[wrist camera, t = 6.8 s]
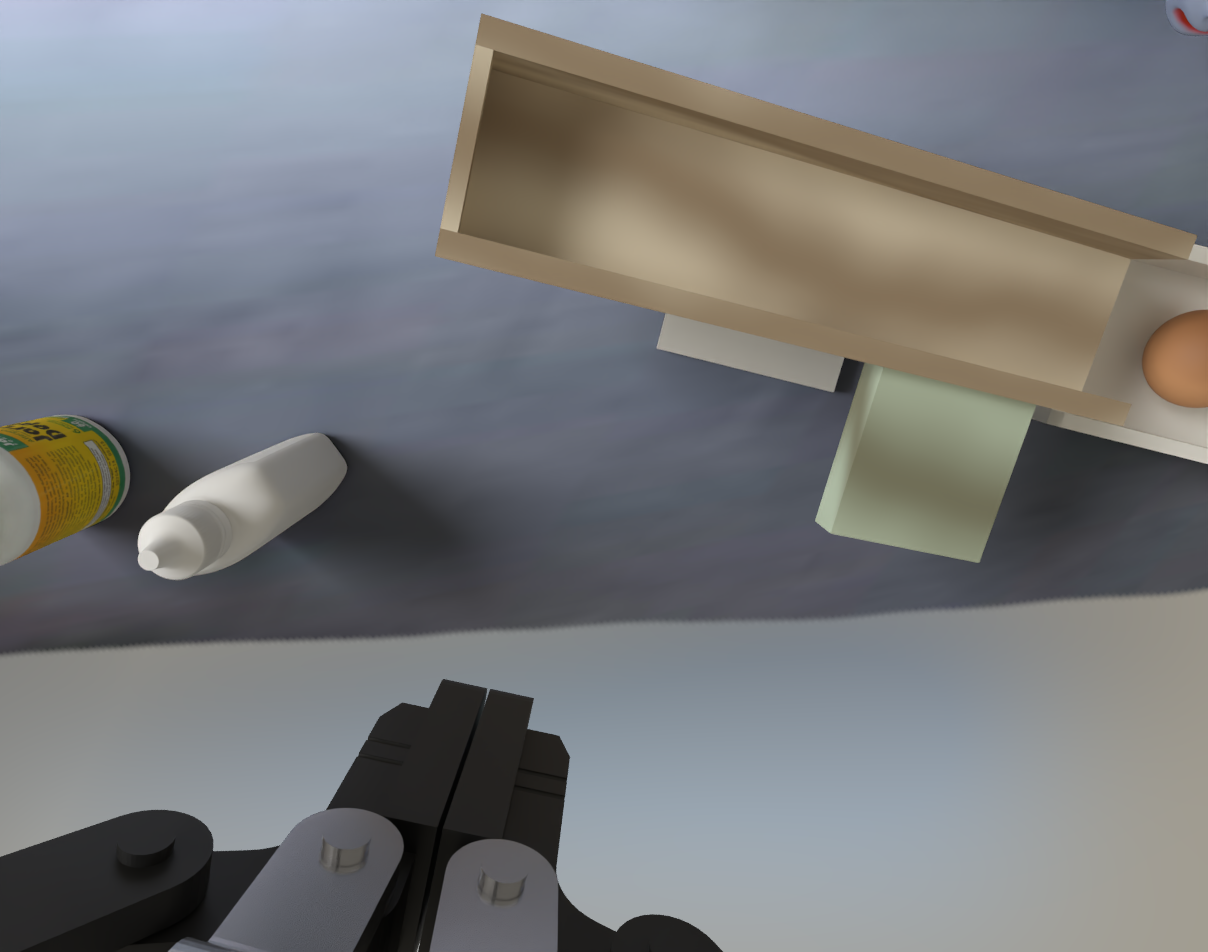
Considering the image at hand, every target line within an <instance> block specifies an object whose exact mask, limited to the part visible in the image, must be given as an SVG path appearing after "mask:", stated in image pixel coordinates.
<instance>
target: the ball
mask: <svg viewBox="0 0 1208 952" xmlns="http://www.w3.org/2000/svg"><path fill="white" fill-rule="evenodd" d="M1142 369H1143V373H1144V376H1145V379H1146V381H1147V383H1148V385H1149V386H1150V387H1151V389H1152V390H1153V391H1154V392H1155V393H1156V394H1157V395H1159V396H1160V397H1161V398H1163V399H1164V400H1166V401H1168V402H1170V403H1173V404H1175V405H1179V406H1183V407H1189V408H1205V407H1208V310H1195V311H1190V312H1186V313H1183V314H1180V315H1178V316H1176V317H1173V318H1172V319H1170V320H1168V321H1167V322H1165V323H1164V324H1162V325H1161V326H1160V327H1159V328H1158V329H1157V330H1156V331H1155V332H1154V333H1153V334H1152V335H1151V337H1150V339H1149V340H1148V342H1147V344H1146V346H1145V348H1144V352H1143V356H1142Z"/></svg>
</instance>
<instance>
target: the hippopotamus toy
mask: <svg viewBox="0 0 1208 952" xmlns="http://www.w3.org/2000/svg"><path fill="white" fill-rule="evenodd" d="M1165 8H1166V14H1167V17H1168V20H1169V22H1170V24H1171V25H1172V27H1173V28H1174V29H1175V30H1176V31H1177V32H1179V33H1181V34H1185V35H1189V36H1208V0H1166V2H1165Z"/></svg>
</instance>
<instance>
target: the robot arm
mask: <svg viewBox="0 0 1208 952" xmlns="http://www.w3.org/2000/svg"><path fill="white" fill-rule="evenodd" d="M486 693H487V688H482V687H478V686H473V685H469V684H464V683H459V682H454V681H450V680H445V679H443V680H442V682H441V684H440V686H439V688H438V690H437V692H436V694H435V696H434V698H433V701H432V703H431V705H430V707H429V708H425V707H421V706H416V705H411V704H407V703H401V704H399V705H398V706H396V707H395V708H393V709H391V710H390V711H388V712H387V713H385V714H383V715H382V716H380V717H379V719H378V721H377V722H376V724H375V726H374V728H373V730H372V731H371V733H370V735H369V737H368V740H366V742H365V743H364V745H363V747H362V749H361V750H360V752H359V756H358V757H356V759H355V761H354V763H353V764H352V766H351V768H350V770H349V771H348V773H347V775H346V776H345V778H344V780H343V782H342V783H341V785H340V787H339V789H338V790H337V792H336V794H335V796H334V797H333V799H332V801H331V802H330V804H329V806H328V808H327V809H326V810H325V811H322V812H318V813H316V814H313V815H311V816H309V817H307V818H305V819H304V820H302V821H301V822H300V823H298V824H297V825H296V826H295V827H294V828H293V829H292V831H291V832H290V833H289V834H288V836H287V837H286V838H285V840H284V841H283V842H282V844H281V845H279V846H276V847H272V848H267V849H260V850H247V851H246V850H244V851H213V838H212V834H211V832H210V831H209V829H208V828H207V826H206V825H205V824H204V823H202V822H201V821H200V820H198V819H196V818H195V817H193V816H190V815H188V814H185V813H181V812H176V811H168V810H148V811H140V812H134V813H130V814H127V815H123V816H120V817H117V818H114V819H111V820H108V821H105V822H102V823H99V824H96V825H93V826H90V827H87V828H84V829H81V830H79V831H75V832H72V833H69V834H66V835H64V836H61V837H58V838H55V839H52V840H49V841H46V842H43V843H40V844H37V845H34V846H31V847H28V848H26V849H22V850H19V851H16V852H14V853H11V854H8V855H4V856H2V857H0V952H417V949H418V945H419V943H420V946H419V951H418V952H723V951H722V950H721V949H720V948H719V947H718V946H717V945H716V944H715V943H714V942H713V941H712V940H711V939H710V938H709V937H708V936H707V935H706V934H704V933H703V932H702V931H700V930H699V929H697V928H696V927H694V926H693V925H691V924H689V923H687V922H685V921H682V920H680V919H677V918H673V917H670V916H664V915H643V916H639V917H635V918H633V919H631V920H629V921H627V922H626V923H624V924H623V925H622V926H621V927H620V928H619V929H618V931H617V932H616V931H613V930H611V929H610V928H607V927H605V926H603V925H601V924H599V923H597V922H596V921H594V920H592V919H590V918H589V917H587V916H586V915H584V914H583V913H582V912H580V911H579V910H578V909H577V908H575V906H574V905H572V904H571V902H570V901H569V900H568V899H567V898H566V896H565V895H564V893H563V891H562V890H561V888H560V885H559V883H558V880H557V875H556V864H557V855H558V848H559V839H560V832H561V824H562V816H563V808H564V798H565V792H566V784H567V782H566V781H567V775H568V767H569V759H570V756H569V754H568V753H567V751H566V748H565V746H564V745H563V743H562V740H561V739H560V737H559V736H557V735H553V734H548V733H543V732H539V731H533V730H529V729H527V727H528V723H529V718H530V714H531V709H532V704H533V700H534V698H530V697H526V696H520V695H516V694H512V693H507V692H502V691H498V690H493V689H490V692H489V695H488V698H487V700H486ZM485 700H486V703H485ZM484 705H485V706H484Z"/></svg>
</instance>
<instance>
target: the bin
mask: <svg viewBox="0 0 1208 952" xmlns="http://www.w3.org/2000/svg"><path fill="white" fill-rule="evenodd" d="M1195 310H1208V248H1207V247H1203V246H1200V245H1196V244H1194V246H1193V248H1192V251H1191V253H1190V256H1189V258H1188V260H1176V259H1131V261H1130V264H1129V267H1128V269H1127V272H1126V275H1125V277H1124V280H1123V283H1122V285H1121V288H1120V291H1119V293H1118V296H1117V299H1116V301H1115V304H1114V307H1113V309H1112V312H1111V315H1110V317H1109V320H1108V323H1107V325H1106V328H1105V331H1104V333H1103V336H1102V339H1101V341H1100V344H1099V347H1098V349H1097V352H1096V355H1095V357H1094V360H1093V363H1092V365H1091V368H1090V371H1089V373H1088V376H1087V379H1086V381H1085V384H1084V387H1083V389H1082V392H1086V393H1090V394H1094V395H1098V396H1102V397H1105V398H1109V399H1113V400H1117V401H1121V402H1125V403H1129V404H1132V405H1131V407H1130V410H1129V412H1128V415H1127V417H1126V420H1125V423H1124V425H1123V426H1120V425H1116V424H1112V423H1108V422H1104V421H1100V420H1096V419H1092V418H1087V417H1083V416H1079V415H1075V414H1071V413H1067V412H1063V411H1059V410H1055V409H1051V408H1047V407H1043V406H1039V405H1036V408H1035V411H1034V413H1033V416H1032V419H1033V420H1036V421H1039V422H1042V423H1046V424H1049V425H1053V426H1057V427H1061V428H1065V429H1069V430H1073V431H1077V432H1081V433H1085V434H1089V435H1093V436H1097V437H1101V438H1105V439H1109V440H1113V441H1117V442H1121V443H1125V444H1129V445H1133V446H1138V447H1142V448H1146V449H1150V450H1154V451H1158V452H1162V453H1166V454H1170V455H1174V456H1178V457H1182V458H1186V459H1190V460H1194V461H1198V462H1202V463H1206V464H1208V407H1205V408H1189V407H1183V406H1179V405H1175V404H1173V403H1170V402H1168V401H1166V400H1164V399H1163V398H1161V397H1160V396H1159V395H1157V394H1156V393H1155V392H1154V391H1153V390H1152V389H1151V387H1150V386H1149V385H1148V383H1147V381H1146V379H1145V376H1144V373H1143V369H1142V356H1143V352H1144V348H1145V346H1146V344H1147V342H1148V340H1149V339H1150V337H1151V335H1152V334H1153V333H1154V332H1155V331H1156V330H1157V329H1158V328H1159V327H1160V326H1161V325H1162V324H1164V323H1165V322H1167V321H1168V320H1170V319H1172V318H1173V317H1176V316H1178V315H1180V314H1183V313H1186V312H1190V311H1195Z"/></svg>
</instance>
